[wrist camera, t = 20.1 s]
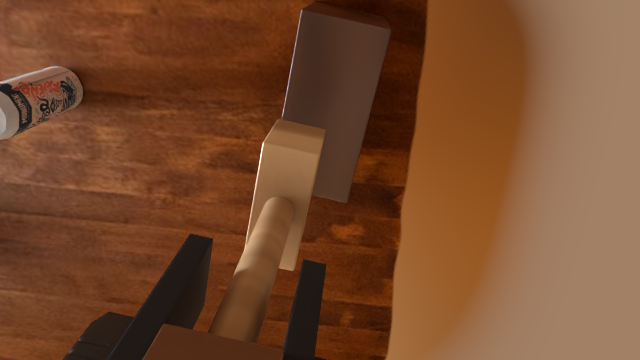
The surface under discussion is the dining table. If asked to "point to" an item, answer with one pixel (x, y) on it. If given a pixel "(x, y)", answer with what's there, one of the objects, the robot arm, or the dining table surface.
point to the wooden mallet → (257, 252)
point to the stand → (336, 86)
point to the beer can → (37, 98)
